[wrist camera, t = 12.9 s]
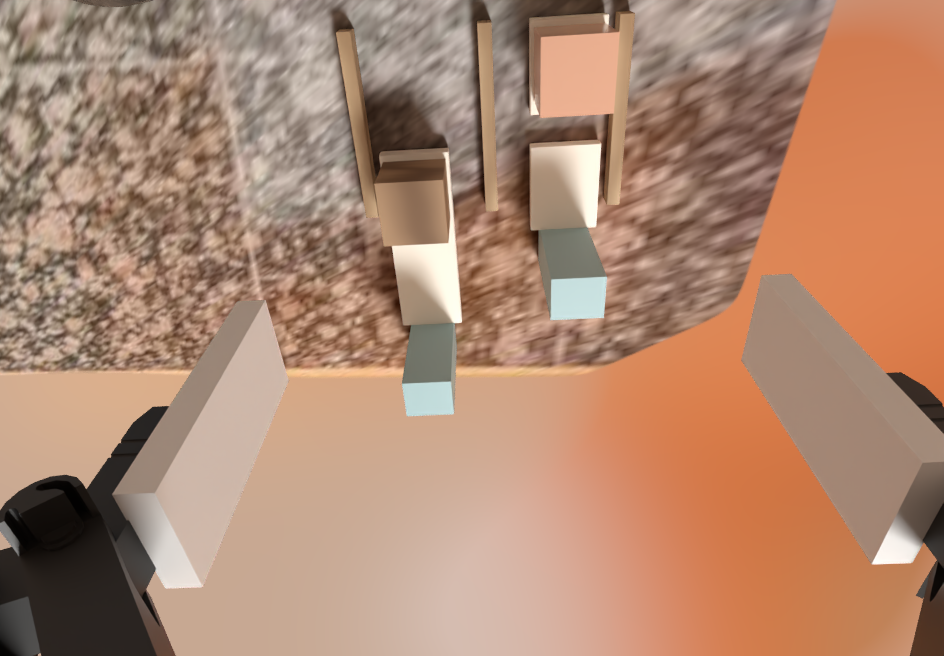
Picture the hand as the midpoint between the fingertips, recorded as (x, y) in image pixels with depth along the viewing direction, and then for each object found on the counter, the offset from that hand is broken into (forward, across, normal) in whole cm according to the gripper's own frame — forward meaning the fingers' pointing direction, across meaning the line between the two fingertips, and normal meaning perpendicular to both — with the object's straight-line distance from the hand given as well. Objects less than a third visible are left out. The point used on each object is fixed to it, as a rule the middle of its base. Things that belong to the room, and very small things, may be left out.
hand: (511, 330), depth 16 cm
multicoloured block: (+34, -6, -15) cm, 38 cm away
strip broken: (+35, +6, -6) cm, 35 cm away
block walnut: (+33, -6, -8) cm, 35 cm away
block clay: (+33, +6, +1) cm, 34 cm away
